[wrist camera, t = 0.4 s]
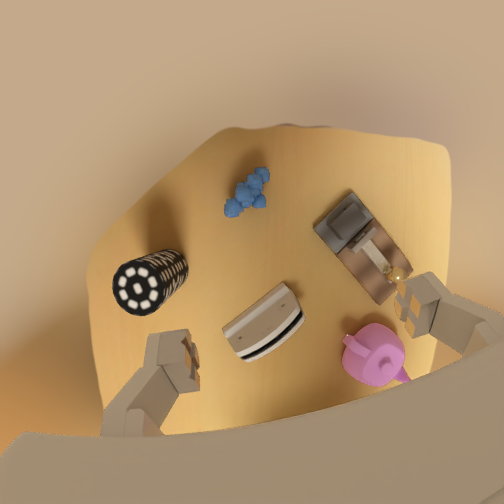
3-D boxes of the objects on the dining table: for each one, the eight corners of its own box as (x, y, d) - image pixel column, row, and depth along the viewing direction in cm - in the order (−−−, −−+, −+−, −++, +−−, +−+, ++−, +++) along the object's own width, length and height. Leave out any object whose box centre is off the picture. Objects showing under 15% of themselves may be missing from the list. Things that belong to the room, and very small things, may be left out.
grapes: (244, 231, 64) (244, 232, 52) (218, 209, 63) (212, 205, 51) (282, 187, 63) (290, 178, 51) (256, 165, 62) (259, 152, 51)
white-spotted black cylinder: (195, 280, 64) (174, 304, 44) (159, 295, 64) (127, 323, 44) (178, 242, 63) (150, 250, 43) (143, 258, 63) (103, 272, 44)
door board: (409, 268, 65) (421, 272, 60) (376, 303, 66) (386, 309, 60) (349, 193, 63) (358, 190, 58) (312, 228, 64) (318, 229, 58)
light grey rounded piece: (283, 280, 65) (302, 304, 56) (295, 295, 67) (314, 319, 57) (220, 329, 65) (229, 359, 56) (234, 342, 67) (244, 372, 58)
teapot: (380, 390, 68) (398, 412, 57) (320, 353, 66) (332, 375, 55) (413, 346, 67) (436, 363, 56) (356, 304, 66) (376, 318, 55)
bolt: (395, 273, 63) (410, 278, 56) (385, 283, 63) (400, 289, 56) (361, 231, 62) (375, 232, 55) (351, 241, 62) (364, 243, 55)
